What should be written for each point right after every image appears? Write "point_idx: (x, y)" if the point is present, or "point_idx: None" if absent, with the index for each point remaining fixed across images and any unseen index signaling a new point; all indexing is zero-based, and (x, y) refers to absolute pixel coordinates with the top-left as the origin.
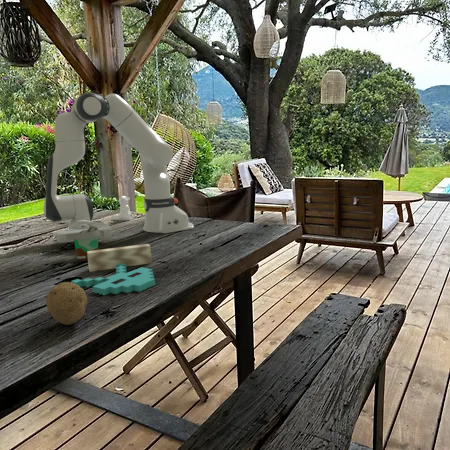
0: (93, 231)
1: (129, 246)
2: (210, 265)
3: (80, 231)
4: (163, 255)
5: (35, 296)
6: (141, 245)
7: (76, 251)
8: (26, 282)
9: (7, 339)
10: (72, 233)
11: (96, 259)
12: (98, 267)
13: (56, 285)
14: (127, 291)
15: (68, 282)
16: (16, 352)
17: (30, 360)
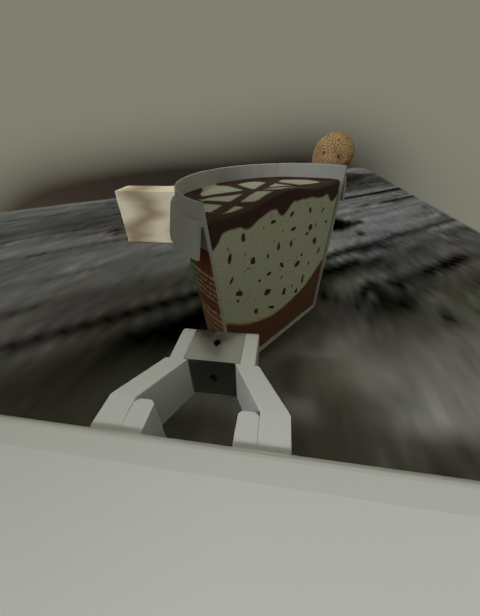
0: (236, 169)
1: (170, 190)
2: (82, 208)
3: (248, 473)
4: (62, 253)
5: (386, 207)
6: (140, 189)
7: (320, 266)
8: (438, 238)
9: (382, 179)
10: (397, 471)
11: None
12: None
13: (345, 134)
14: None
15: (333, 132)
16: (367, 174)
17: (353, 171)
